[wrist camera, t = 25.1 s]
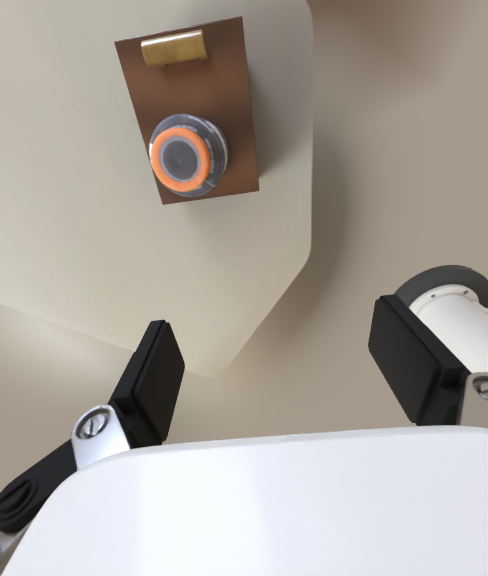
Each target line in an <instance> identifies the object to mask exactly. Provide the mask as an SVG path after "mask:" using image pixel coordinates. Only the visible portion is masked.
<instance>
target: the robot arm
mask: <svg viewBox="0 0 488 576" xmlns="http://www.w3.org/2000/svg"><path fill="white" fill-rule="evenodd" d="M368 347H369V351H370V353H371V355H372V357H373V358H374V360H375V362H376V363H377V365H378V367H379V369H380V370H381V372H382V374H383V375H384V377H385V379H386V381H387V382H388V384H389V386H390V388H391V389H392V391H393V393H394V394H395V396H396V398H397V400H398V401H399V403H400V405H401V407H402V408H403V410H404V412H405V413H406V415H407V417H408V418H409V420H410V421H411V422H412V423H416V425H417V427H396V428H381V429H367V430H351V431H338V432H337V431H336V432H322V433H308V434H294V435H280V436H267V437H253V438H240V439H228V440H215V441H202V442H190V443H180V444H168V445H162V441H165V440H166V438H167V436H168V432H169V428H170V424H171V420H172V416H173V412H174V408H175V405H176V401H177V396H178V393H179V389H180V385H181V381H182V377H183V373H184V369H185V364H184V360H183V358H182V355H181V352H180V350H179V347H178V344H177V342H176V339H175V336H174V334H173V331H172V328H171V326H170V323H168V322H167V323H166V321H165V320H157V321H151V322H150V324H149V326H148V328H147V330H146V332H145V334H144V336H143V338H142V340H141V342H140V344H139V346H138V348H137V350H136V352H134V354H133V355H132V357H131V359H130V361H129V363H128V365H127V367H126V369H125V371H124V373H123V374H122V377H121V378H120V380H119V383H118V384H117V386H116V388H115V390H114V392H113V394H112V396H111V398H110V400H109V402H108V404H103V405H98V406H95V407H93V408H91V409H89V410H88V411H87V412H85V413H84V414H83V415H82V416H81V417H80V418H79V419H78V420H77V421H76V423H75V424H74V426H73V428H72V431H71V439H70V440H68V441H67V442H65V443H64V444H62V445H61V446H60V447H58V448H57V449H56V450H54V451H53V452H52V453H50V454H49V455H47V456H46V457H45V458H43V459H42V460H40V461H39V462H38V463H36V464H35V465H33V466H32V467H31V468H29V469H28V470H26V471H25V472H24V473H22V474H21V475H20V476H18V477H17V478H15V479H14V480H13V481H12V482H11V483H9V484H8V485H7V486H6V487H5V488H4V489H3V490H2V492H1V493H0V576H488V308H485V307H483V306H482V305H481V304H479V299H478V297H477V295H476V294H475V292H473V291H472V290H471V289H469V288H468V287H466V286H463V285H459V284H449V285H443V286H439V287H436V288H433V289H431V290H429V291H427V292H425V293H424V294H422V295H421V296H419V297H418V298H417V299H416V300H415V301H414V302H413V303H412V304H411V305H410V307H408V306H407V305H406V304H405V303H404V302H403V301H402V300H401V299H400V298H399V297H398V296H397V295H395V294H393V295H384V296H380V298H379V299H378V300H376V301H375V307H374V313H373V319H372V325H371V331H370V337H369V343H368Z"/></svg>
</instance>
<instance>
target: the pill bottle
mask: <svg viewBox="0 0 488 576" xmlns="http://www.w3.org/2000/svg"><path fill="white" fill-rule="evenodd" d="M149 154H150V160H151V165H152V167H153V170H154V172H155V174H156V176H157V177H158V179H159V180H160V182H161V183H162V184H163V185H164V186H165V187H166V188H168V189H169V190H170V191H172V192H174V193H176V194H178V195H181V196H184V197H199V196H202V195H204V194H206V193H208V192H210V191H211V190H212V189H213V188H214V187H215V186H216V185H217V184H218V182H219V181H220V179H221V177H222V175H223V173H224V171H225V169H226V167H227V164H228V161H229V147H228V143H227V140H226V138H225V136H224V134H223V133H222V131H221V130H220V129H219V128H218V127H217V126H216V125H215V124H213V123H212V122H210V121H208V120H205V119H202V118H200V117H197V116H194V115H190V114H175V115H172V116H169V117H167V118H165V119H164V120H163V121H161V122H160V123H159V125H158V126H157V127H156V129H155V130H154V132H153V134H152V137H151V140H150V148H149Z"/></svg>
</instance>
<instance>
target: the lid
mask: <svg viewBox="0 0 488 576" xmlns="http://www.w3.org/2000/svg"><path fill="white" fill-rule="evenodd" d="M114 43H115V46H116V50H117V53H118V56H119V60H120V63H121V66H122V70H123V73H124V77H125V80H126V83H127V87H128V90H129V93H130V97H131V100H132V103H133V107H134V110H135V113H136V117H137V120H138V124H139V127H140V130H141V134H142V137H143V140H144V144H145V147H146V150H147V154H148V157H149V160H150V154H149V148H150V140H151V137H152V134H153V132H154V130H155V129H156V127H157V126H158V125H159V123H160V122H161V121H163V120H164V119H165V118H167V117H169V116H172V115H175V114H190V115H194V116H197V117H200V118H202V119H205V120H208V121H210V122H212V123H213V124H215V125H216V126H217V127H218V128H219V129H220V130H221V131H222V133H223V134H224V136H225V138H226V140H227V143H228V147H229V161H228V164H227V167H226V169H225V171H224V173H223V175H222V177H221V179H220V181H219V182H218V184H217V185H216V186H215V187H214V188H213V189H212V190H211V191H210V192H208V193H206V194H204V195H202V196H199V197H184V196H181V195H178V194H176V193H174V192H172V191H170V190H169V189H168V188H166V187H165V186H164V185H163V184H162V183H161V182H160V180H159V179H158V177H157V176H156V174H155V172H154V170H153V167H152V165H151V167H152V171H153V174H154V177H155V181H156V184H157V187H158V191H159V194H160V197H161V201H162V204H163V205H165V204H172V203H179V202H186V201H193V200H200V199H207V198H214V197H221V196H228V195H234V194H241V193H248V192H255V191H259V181H258V171H257V161H256V151H255V141H254V131H253V121H252V111H251V101H250V91H249V81H248V71H247V61H246V51H245V41H244V31H243V21H242V17H236V18H231V19H226V20H221V21H216V22H210V23H205V24H200V25H195V26H190V27H185V28H180V29H175V30H170V31H165V32H159V33H154V34H149V35H144V36H139V37H134V38H129V39H124V40H119V41H114ZM150 164H151V160H150Z"/></svg>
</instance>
